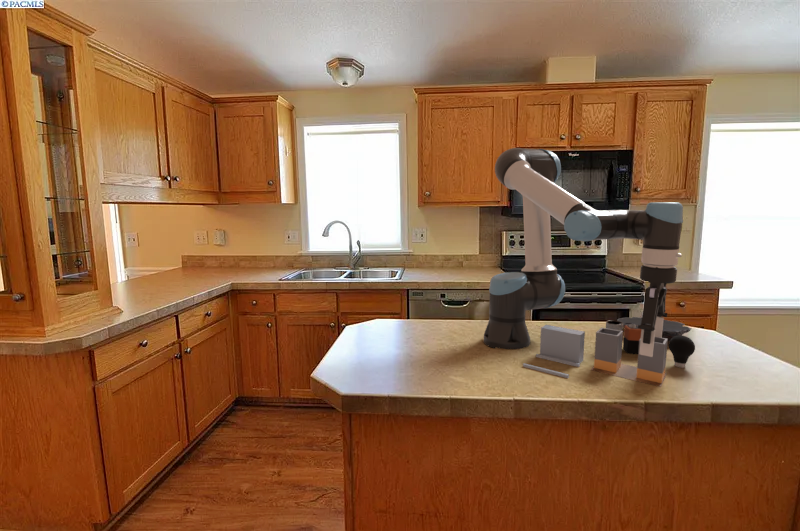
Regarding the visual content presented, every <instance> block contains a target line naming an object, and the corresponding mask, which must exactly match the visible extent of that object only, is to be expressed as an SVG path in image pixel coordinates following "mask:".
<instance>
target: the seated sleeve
mask: <svg viewBox="0 0 800 531" xmlns="http://www.w3.org/2000/svg"><path fill="white" fill-rule="evenodd" d="M623 341H624V330H623V331H619V330H613V329H607V328H606V327H600V328H599V329H598V330H596V331H595V344H594V358H593V359H594V361H593V367H594V368H598V369H602V370H607V371H611V372H615V373H616V372H617V371H618V369H619V368H620V367H621V364H622V353H623V352H622V351H623Z"/></svg>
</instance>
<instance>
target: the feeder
mask: <svg viewBox="0 0 800 531" xmlns="http://www.w3.org/2000/svg"><path fill="white" fill-rule="evenodd" d="M585 334H586V331H583V330H578V329H571V328H568V327H560V326H555V325H550V324H545V325H543V326H542V327H541V328H540V344H539V345H540V347H539V348H540V349H539V353H536V355H535V358H538V359H539V358H540V359H542V360H548V361H552V362H557V363H559V364H565V365H568V366H572V367H576V368H580V365H581V363H583V362H584V354H585V353H584V352H585V338H586V337H585ZM522 367H524V368H526V369H530V370H534V371H537V372H542V373H545V374H550V375H554V376H556V377H557V376H558V377H561V378H565V379H569V378H570V374H568V373H565V372H560V371H557V370H552V369H548V368H545V367H540V366H536V365H532V364H528V363H525V362H524V363H522Z"/></svg>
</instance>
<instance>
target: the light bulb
mask: <svg viewBox="0 0 800 531" xmlns="http://www.w3.org/2000/svg"><path fill="white" fill-rule="evenodd" d="M694 342H695V341H693V339H691V338H690V337H688V336H687V335H679V336H675V337H673V338H672V339H671V340H670V341H668V350H669V351H670V353H671V354H672V356H673V362H674V363H673V364H674V366H675V367H677V368H682V369H683V368H685V367H686V365H687V362H688V360H689V357H691V356H692V355H693V354H694V352H695V350H696V345H695V343H694Z"/></svg>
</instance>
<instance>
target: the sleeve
mask: <svg viewBox="0 0 800 531" xmlns="http://www.w3.org/2000/svg"><path fill="white" fill-rule="evenodd" d="M640 340H641V338H640ZM640 340H639V351H640ZM668 344H669V341H668V339H666V338H660V337H655V338H654V348H653V356H652V357H649V356H645V355H640V354H639V351H638V354H637V364H636V365H637V366H636V367H637V378H641V379H645V380H650V381H654V382H658V383H662V381H663V379H664V376H665V373H666V364H667V351H668ZM664 380H665V379H664ZM663 382H664V381H663Z"/></svg>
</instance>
